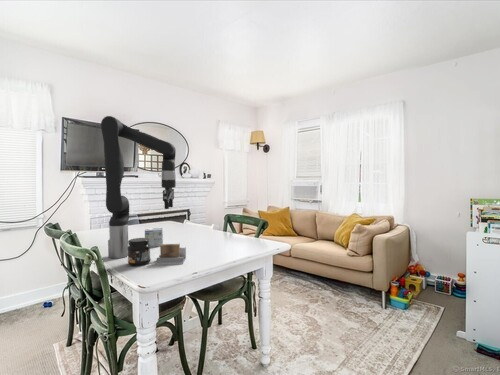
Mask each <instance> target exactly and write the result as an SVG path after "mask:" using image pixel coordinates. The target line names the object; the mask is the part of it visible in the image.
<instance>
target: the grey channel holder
mask: <svg viewBox="0 0 500 375" xmlns="http://www.w3.org/2000/svg"><path fill="white" fill-rule="evenodd" d="M159 252H160V251H159ZM186 260H187V247H186V246H184V247H182V246H181V247H180V257H167V258H161V252H160V254H159V257H157V258H156V262H155V265H156V266H157V265H158V266H159V265H183V264H184V263H185V262H186Z"/></svg>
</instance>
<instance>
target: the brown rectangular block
mask: <svg viewBox="0 0 500 375" xmlns="http://www.w3.org/2000/svg"><path fill="white" fill-rule="evenodd" d="M180 246H181V245H180V243H163V244H161V245H160V246H159V248H160V249H159V250H160V251H159V252H161V258H167V257H180Z"/></svg>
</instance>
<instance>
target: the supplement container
mask: <svg viewBox="0 0 500 375" xmlns="http://www.w3.org/2000/svg"><path fill="white" fill-rule="evenodd" d="M150 263H151V247H150V244H149V239H148V238H145V237H136V238H135V237H134V238H131V239H128V256H127V264H128V265H129V266H131V267H141V266H142V267H143V266H146V265H149V264H150Z"/></svg>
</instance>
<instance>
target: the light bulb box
mask: <svg viewBox="0 0 500 375" xmlns="http://www.w3.org/2000/svg"><path fill="white" fill-rule="evenodd" d="M163 235H164V234H163V227H153V228H145V229H144V238H148V239H149V244H150V248H152V247H153V248H154V247H155V248H156V247H160V245H161V244H164V239H163V238H164V236H163Z"/></svg>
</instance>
